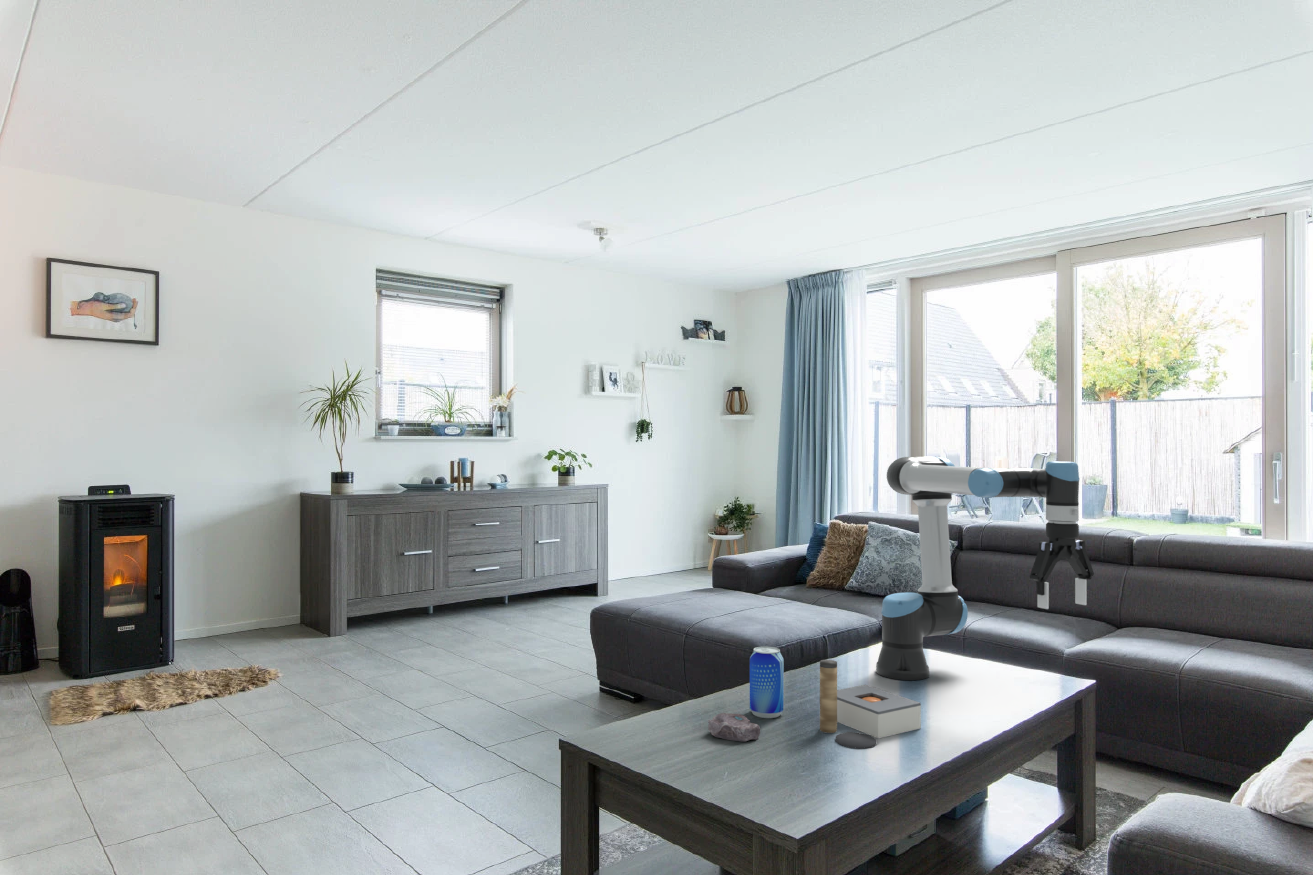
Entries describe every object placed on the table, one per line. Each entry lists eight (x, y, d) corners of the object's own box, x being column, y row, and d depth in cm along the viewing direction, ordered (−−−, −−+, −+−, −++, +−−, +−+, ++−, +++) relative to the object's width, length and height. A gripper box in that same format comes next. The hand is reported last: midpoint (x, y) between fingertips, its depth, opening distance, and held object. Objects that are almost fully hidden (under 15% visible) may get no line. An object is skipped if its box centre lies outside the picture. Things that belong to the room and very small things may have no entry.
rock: (750, 746, 183) (750, 725, 183) (704, 737, 188) (704, 717, 188) (764, 736, 190) (764, 716, 190) (719, 728, 195) (719, 708, 196)
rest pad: (827, 738, 187) (827, 736, 187) (856, 732, 192) (856, 729, 192) (855, 751, 180) (855, 748, 180) (885, 744, 184) (885, 741, 184)
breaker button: (858, 706, 200) (858, 698, 200) (871, 703, 203) (871, 695, 203) (871, 711, 196) (871, 703, 197) (884, 708, 199) (884, 700, 199)
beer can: (787, 711, 208) (787, 647, 208) (777, 720, 200) (778, 654, 200) (755, 706, 211) (755, 644, 212) (745, 716, 204) (745, 651, 204)
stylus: (816, 728, 194) (816, 660, 195) (828, 726, 196) (828, 658, 197) (827, 733, 191) (827, 664, 191) (840, 731, 193) (840, 662, 193)
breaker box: (824, 716, 204) (824, 692, 204) (865, 708, 211) (865, 684, 211) (878, 738, 188) (878, 711, 188) (920, 728, 195) (920, 702, 195)
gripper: (1039, 524, 200) (1039, 612, 200) (1109, 521, 210) (1109, 605, 210) (1014, 522, 207) (1014, 606, 206) (1083, 519, 217) (1083, 600, 217)
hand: (1062, 606), depth 208 cm, fingers open, 13 cm apart
